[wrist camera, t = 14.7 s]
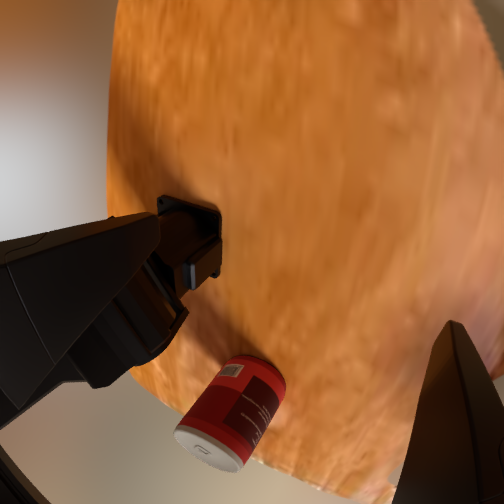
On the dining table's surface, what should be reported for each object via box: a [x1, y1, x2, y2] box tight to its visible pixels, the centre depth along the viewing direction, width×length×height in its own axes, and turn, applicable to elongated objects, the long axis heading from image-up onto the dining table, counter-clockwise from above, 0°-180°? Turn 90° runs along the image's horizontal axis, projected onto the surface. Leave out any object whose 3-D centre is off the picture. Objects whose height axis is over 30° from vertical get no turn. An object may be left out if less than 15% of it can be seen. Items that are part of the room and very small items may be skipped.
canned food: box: [173, 356, 286, 473], centre depth 31 cm, size 8×8×11 cm
